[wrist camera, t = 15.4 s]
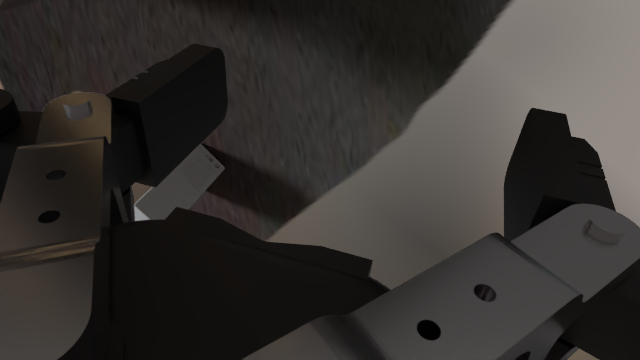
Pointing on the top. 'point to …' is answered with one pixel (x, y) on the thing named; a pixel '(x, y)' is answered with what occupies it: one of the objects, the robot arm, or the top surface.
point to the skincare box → (180, 186)
